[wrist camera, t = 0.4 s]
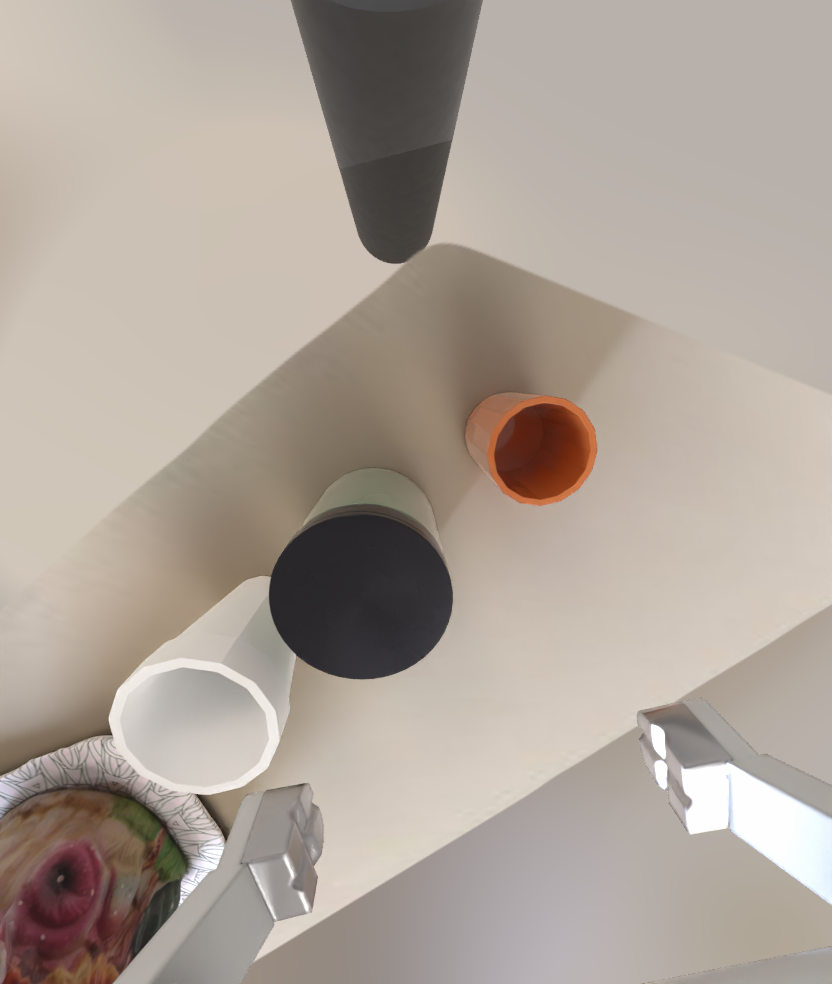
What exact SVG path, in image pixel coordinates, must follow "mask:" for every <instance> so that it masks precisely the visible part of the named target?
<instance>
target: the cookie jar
mask: <svg viewBox="0 0 832 984" xmlns="http://www.w3.org/2000/svg"><path fill="white" fill-rule="evenodd" d="M225 844H226V841H225V839H224V836H223V834H222V832H221V830H220V828H219V827H218V825H217V824H216V823H215V821H214V820H213V818H212V817H211V816H210V814H209V813H208V811H207V810H206V809H205V807H204V806H203V804H202V803H201V802H200V800H199V799H198V797H197V796H196V795H195V794H194V793H186V792H177V791H171V790H169V789H167V788H165V787H163V786H161V785H159V784H157V783H155V782H153V781H151V780H149V779H147V778H145V777H143V776H140V775H139V774H138V773H137V772H136V771H135V770H134V768H133V767H132V766H131V765H130V764H129V763H128V762H127V761H126V760H125V759H124V757H123V756H122V755H121V754H120V753H119V752H118V751H117V750H116V746H115V743H114V739H113V735H108V736H96V737H91V738H88V739H86V740H83V741H81V742H78V743H76V744H74V745H72V746H70V747H67V748H62V749H58V750H57V751H56V752H52V753H49V754H46V755H43V756H41V757H38V758H34V759H31V760H29V761H28V762H27V763H26V764H25V765H22V766H20V767H19V768H18V769H15V770H13V771H11V772H9V773H6V774H4V775H2V776H0V984H113V983H114V981H115V980H116V979H117V978H118V977H119V976H120V974H121V973H122V972H123V971H124V970H125V969H126V968H127V966H128V965H129V964H130V963H131V962H132V961H133V959H134V958H135V957H136V956H137V955H138V954H139V952H140V951H141V950H142V949H143V948H144V947H145V946H146V944H147V943H148V942H149V941H150V940H151V939H152V937H153V936H154V935H155V934H156V933H157V932H158V930H159V929H160V928H161V927H162V926H163V925H164V923H165V922H166V921H167V920H168V919H169V918H170V917H171V915H172V914H173V913H174V912H175V911H176V910H177V908H178V907H179V906H180V905H181V904H182V903H183V901H184V900H185V899H186V898H187V897H188V896H189V894H190V893H191V892H192V891H193V890H194V889H195V888H196V886H197V885H198V884H199V883H200V882H201V881H202V879H203V878H204V877H205V876H206V875H207V874H208V872H209V871H212V870H216V868H217V866H218V863H219V860H220V858H221V855H222V852H223V850H224V847H225Z"/></svg>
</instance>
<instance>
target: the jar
mask: <svg viewBox="0 0 832 984" xmlns="http://www.w3.org/2000/svg"><path fill="white" fill-rule="evenodd" d="M352 504H372V505H379V506H384V507H388V508H391V509H394V510H397V511H400V512H402V513H404V514H406V515H408V516H409V517H411V518H412V519H414V520H415V521H417V522H418V523H420V524H421V525H422V526H423V527H424V528H425V529H426V530H427V531H428V532H429V533H430V534H431V535H432V536H433V538H434V539H435V541H436V542H437V544H438V545H439V547H440V549H441V551H442V553H443V550H442V546H441V542H440V538H439V534H438V530H437V526H436V522H435V518H434V514H433V511H432V507H431V505H430V503H429V501H428V499H427V497H426V496H425V494H424V492H423V491H422V490H421V489H420V488H419V487H418V486H417V485H416V484H415V483H414V482H413V481H411V480H410V479H408V478H407V477H405V476H403V475H401V474H399V473H397V472H394V471H391V470H387V469H381V468H365V469H360V470H356V471H353V472H350V473H348V474H346V475H343V476H342V477H340V478H339V479H337V480H336V481H335V482H333V483H332V484H331V485H330V486H329V487H328V488H327V489H326V490H325V492H324V493H323V495H322V496H321V498H320V499H319V501H318V502H317V504H316V505H315V507H314V508H313V509H312V511H311V512H310V514H309V515H308V517H307V518H306V520H305V521H304V523H303V524H302V526H301V527H303V526H304V525H305V524H306V523H307V522H309V521H310V520H311V519H313V518H315V517H316V516H318V515H319V514H322V513H324V512H326V511H328V510H331V509H334V508H337V507H340V506H346V505H352ZM301 527H300V528H301ZM300 528H299V530H300ZM299 530H298V531H299ZM298 531H297V532H298ZM443 555H444V554H443Z"/></svg>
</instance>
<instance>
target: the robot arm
mask: <svg viewBox="0 0 832 984" xmlns="http://www.w3.org/2000/svg"><path fill="white" fill-rule="evenodd" d="M637 723H638V725H639V727H640V728H641V730H642V731H643V734H642V735H641V737H640V738H639V741H640V748H641V752H642V755H643V758H644V761H645V764H646V766H647V768H648V770H649V772H650V774H651V775H652V777H653V779H654V780H655V782H656V783H657V784H658V785H659V786H661V787H662V788H664V789H665V790H667V791H668V796H669V804H670V806H671V807H672V809H673V810H674V812H675V813H676V815H677V816H678V818H679V820H680V821H681V823H682V824H683V826H684V827H685V829H686V830H687V832H688V834H695V833H701V832H706V831H712V830H718V829H724V828H730V831H732V832H734V833H735V834H736V835H737V836H739V837H740V838H741V839H743V840H744V841H745V842H747V843H748V844H750V845H751V846H752V847H754V848H755V849H756V850H758V851H759V852H760V853H762V854H763V855H764V856H766V857H767V858H768V859H770V860H771V861H773V862H774V863H775V864H777V865H778V866H779V867H781V868H782V869H784V870H785V871H786V872H787V873H789V874H790V875H792V876H793V877H794V878H796V879H797V880H799V881H800V882H801V883H803V884H804V885H805V886H807V887H808V888H809V889H811V890H812V891H813V892H815V893H816V894H817V895H819V896H820V897H821V898H823V899H824V900H826V901H827V902H828V903H830V904H831V905H832V785H830V784H828V783H826V782H824V781H822V780H820V779H818V778H816V777H814V776H812V775H809V774H807V773H805V772H803V771H801V770H799V769H797V768H795V767H793V766H791V765H788V764H786V763H784V762H782V761H780V760H778V759H776V758H774V757H772V756H770V755H768V754H762V755H759V754H758V753H757V752H756V751H755V750H754V749H753V748H752V747H751V746H750V745H749V744H748V743H747V742H746V741H745V740H744V739H743V738H742V737H741V736H740V735H739V734H738V733H737V732H736V730H735V729H734V728H733V727H732V726H731V725H730V724H729V723H728V722H727V721H726V720H725V719H724V718H723V717H722V716H721V715H720V714H719V713H718V712H717V711H716V710H715V709H714V708H713V707H712V706H711V705H710V704H709V703H708V702H707V700H705V699H703V698H701V697H700V698H695V699H691V700H686V701H681V702H676V703H671V704H667V705H663V706H658V707H654V708H650V709H645V710H641V711H638V714H637ZM312 798H313V791H312V789H311V787H310V784H309V783H304V784H298V785H293V786H287V787H282V788H277V789H271V790H267V791H262V792H257V793H252V794H247V795H246V797H245V798H244V799H243V800H242V802H241V805H240V807H239V810H238V813H237V815H236V818H235V821H234V823H233V826H232V829H231V831H230V834H229V836H228V839H227V842H226V844H225V847H224V850H223V852H222V855H221V858H220V860H219V863H218V866H217V868H216V870H212V871H209V872H208V874H207V875H206V876H205V877H204V878H203V879H202V881H201V882H200V883H199V884H198V885H197V886H196V888H195V889H194V890H193V891H192V892H191V893H190V894H189V896H188V897H187V898H186V899H185V900H184V901H183V903H182V904H181V905H180V906H179V907H178V908H177V910H176V911H175V912H174V913H173V914H172V915H171V917H170V918H169V919H168V920H167V921H166V922H165V923H164V925H163V926H162V927H161V928H160V929H159V930H158V932H157V933H156V934H155V935H154V936H153V937H152V939H151V940H150V941H149V942H148V943H147V944H146V946H145V947H144V948H143V949H142V950H141V951H140V952H139V954H138V955H137V956H136V957H135V958H134V959H133V961H132V962H131V963H130V964H129V965H128V966H127V968H126V969H125V970H124V971H123V972H122V973H121V974H120V976H119V977H118V978H117V979H116V980H115V981H114V983H113V984H240V983H241V982H242V980H243V978H244V976H245V975H246V973H247V971H248V970H249V968H250V966H251V964H252V963H253V961H254V959H255V957H256V956H257V954H258V952H259V950H260V949H261V947H262V945H263V944H264V942H265V940H266V938H267V937H268V935H269V933H270V931H271V930H272V928H273V926H274V922H275V921H279V920H284V919H288V918H292V917H296V916H300V915H304V914H308V913H312V908H313V902H314V896H315V890H316V884H317V878H318V877H317V874H316V871H315V869H314V865H315V864H316V862H317V861H318V859H319V858H320V856H321V854H322V848H323V820H322V815H321V812H320V809H319V807H318V806H316V805H314V804H313V803H312ZM643 984H832V946H829V947H824V948H819V949H814V950H809V951H804V952H799V953H794V954H789V955H784V956H779V957H774V958H769V959H764V960H759V961H754V962H749V963H744V964H739V965H734V966H729V967H724V968H719V969H714V970H709V971H704V972H699V973H693V974H688V975H684V976H678V977H673V978H668V979H663V980H658V981H653V982H648V983H643Z"/></svg>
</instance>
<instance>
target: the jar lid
mask: <svg viewBox="0 0 832 984" xmlns="http://www.w3.org/2000/svg"><path fill="white" fill-rule="evenodd" d="M452 603H453V591H452V585H451V579H450V575H449V571H448V567H447V564H446V561H445V558H444V555H443V553H442V551H441V549H440V547H439V545H438V544H437V542H436V541H435V539H434V538H433V536H432V535H431V534H430V533H429V532H428V531H427V530H426V529H425V528H424V527H423V526H422V525H421V524H420V523H418V522H417V521H415V520H414V519H412V518H411V517H409V516H408V515H406V514H404V513H402V512H400V511H397V510H394V509H391V508H388V507H384V506H379V505H372V504H352V505H346V506H340V507H337V508H334V509H331V510H328V511H326V512H324V513H322V514H319V515H318V516H316V517H315V518H313V519H311V520H310V521H309V522H307V523H306V524H305V525H304V526H303V527H301V528H300V530H299V531H298V532H297V533H296V534H295V535H294V536H293V538H292V539H291V541H290V542H289V544H288V545H287V546H286V548H285V549H284V551H283V552H282V554H281V555H280V557H279V558H278V561H277V563H276V565H275V567H274V569H273V572H272V576H271V579H270V586H269V605H270V612H271V615H272V619H273V622H274V624H275V627H276V629H277V631H278V633H279V634H280V636H281V638H282V639H283V641H284V642H285V643H286V645H287V646H288V647H289V648H290V649H291V650H292V651H293V652H294V653H295V654H296V655H297V656H298V657H299V658H301V659H302V660H303V661H305V662H306V663H307V664H309V665H311V666H313V667H314V668H316V669H318V670H321V671H323V672H325V673H328V674H331V675H335V676H338V677H343V678H349V679H375V678H380V677H386V676H389V675H392V674H396V673H398V672H400V671H403V670H405V669H407V668H409V667H411V666H412V665H414V664H416V663H417V662H418V661H420V660H421V659H423V658H424V657H425V656H426V655H427V654H428V653H429V652H430V651H431V650H432V649H433V648H434V647H435V645H436V644H437V643H438V642H439V640H440V638H441V637H442V635H443V633H444V632H445V629H446V627H447V625H448V623H449V619H450V615H451V611H452Z"/></svg>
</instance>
